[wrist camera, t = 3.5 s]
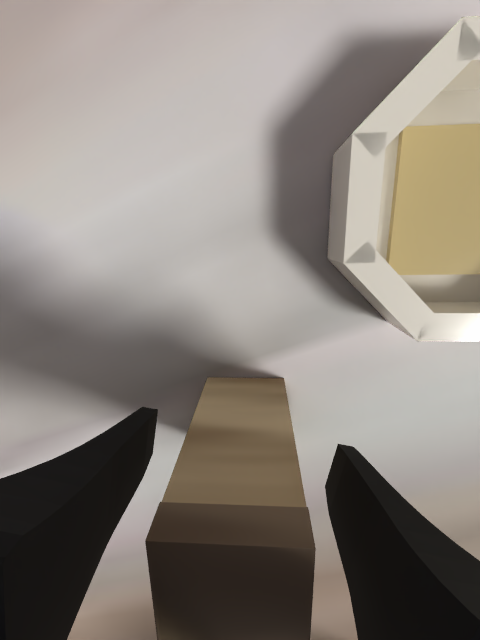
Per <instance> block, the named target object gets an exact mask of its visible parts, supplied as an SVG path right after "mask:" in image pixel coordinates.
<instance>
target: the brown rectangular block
mask: <svg viewBox="0 0 480 640" xmlns="http://www.w3.org/2000/svg"><path fill="white" fill-rule="evenodd" d="M145 542H146V550H147V558H148V566H149V575H150V583H151V591H152V599H153V607H154V616H155V624H156V632H157V640H310V632H311V615H312V599H313V582H314V565H315V543H314V538H313V532H312V527H311V521H310V516H309V510H308V507H306V502H305V496H304V490H303V485H302V479H301V473H300V468H299V462H298V456H297V451H296V445H295V439H294V433H293V428H292V422H291V416H290V411H289V405H288V399H287V394H286V388H285V382H284V378H216V377H208V378H207V380H206V383H205V386H204V388H203V391H202V394H201V397H200V399H199V402H198V405H197V407H196V410H195V413H194V416H193V418H192V421H191V424H190V427H189V429H188V432H187V435H186V437H185V440H184V443H183V446H182V448H181V451H180V454H179V456H178V459H177V462H176V465H175V467H174V470H173V473H172V475H171V478H170V481H169V484H168V486H167V489H166V492H165V494H164V497H163V500H162V502H160V503H159V506H158V509H157V511H156V514H155V517H154V519H153V522H152V525H151V527H150V530H149V533H148V535H147V538H146V541H145Z"/></svg>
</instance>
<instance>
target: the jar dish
mask: <svg viewBox="0 0 480 640" xmlns="http://www.w3.org/2000/svg"><path fill="white" fill-rule="evenodd" d="M327 259H328V260H329V261H330V262H331V263H332V264H333V265H334V266H335V267H336V268H337V269H338V270H339V271H340V272H341V273H342V274H343V275H344V276H345V278H346V279H347V280H348V281H349V282H350V283H351V284H352V285H353V286H354V287H355V288H356V289H357V290H358V291H359V292H360V293H361V294H362V295H363V296H364V297H365V298H366V300H367V301H368V302H369V303H370V304H371V305H372V306H373V307H374V308H375V309H376V310H377V311H378V312H379V313H380V314H381V315H382V316H383V317H384V318H385V319H386V320H387V321H388V322H389V323H390V324H392V325H393V326H395V327H396V328H398V329H399V330H401V331H402V332H404V333H405V334H407V335H409V336H410V337H412V338H413V339H415V340H416V341H440V342H480V16H470V17H462V18H461V19H460V20H459V21H458V22H457V23H456V24H455V25H454V26H453V27H452V28H451V29H450V31H449V32H448V33H447V34H446V35H445V36H444V37H443V38H442V39H441V40H440V41H439V42H438V43H437V44H436V45H435V46H434V47H433V49H432V50H431V51H430V52H429V53H428V54H427V55H426V56H425V57H424V58H423V59H422V60H421V61H420V62H419V63H418V64H417V65H416V66H415V68H414V69H413V70H412V71H411V72H410V73H409V74H408V75H407V76H406V77H405V78H404V79H403V80H402V81H401V82H400V83H399V84H398V85H397V87H396V88H395V89H394V90H393V91H392V92H391V93H390V94H389V95H388V96H387V97H386V98H385V99H384V100H383V101H382V102H381V103H380V105H379V106H378V107H377V108H376V109H375V110H374V111H373V112H372V113H371V114H370V115H369V116H368V117H367V118H366V119H365V120H364V121H363V122H362V124H361V125H360V126H359V127H358V128H357V129H356V130H355V131H354V132H353V133H352V134H351V135H350V136H349V138H348V139H347V140H346V141H345V142H344V143H343V144H342V145H341V147H340V148H339V149H338V150H337V151H336V152H335V153H334V154H333V164H332V182H331V200H330V219H329V237H328V255H327Z"/></svg>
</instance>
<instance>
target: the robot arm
mask: <svg viewBox="0 0 480 640" xmlns="http://www.w3.org/2000/svg"><path fill="white" fill-rule="evenodd" d="M157 412H158V410H157V409H152V408H146V407H142V408H140V409H139V410H137V411H136V412H134V413H133V414H131V415H130V416H128V417H127V418H125V419H124V420H122V421H121V422H119V423H118V424H116V425H114V426H113V427H111V428H110V429H108V430H107V431H105V432H104V433H102V434H100V435H98V436H97V437H95V438H93V439H91V440H90V441H88V442H86V443H85V444H83V445H81V446H79V447H77V448H75V449H73V450H71V451H69V452H67V453H65V454H63V455H61V456H58V457H56V458H54V459H52V460H49V461H47V462H44V463H42V464H39V465H37V466H34V467H32V468H29V469H27V470H24V471H22V472H19V473H16V474H13V475H10V476H7V477H4V478H1V479H0V640H67V638H68V635H69V633H70V630H71V628H72V626H73V623H74V621H75V618H76V616H77V613H78V611H79V609H80V606H81V604H82V601H83V599H84V597H85V594H86V592H87V590H88V587H89V585H90V582H91V580H92V578H93V575H94V573H95V571H96V569H97V566H98V564H99V562H100V559H101V557H102V555H103V553H104V550H105V548H106V546H107V544H108V542H109V540H110V538H111V536H112V534H113V532H114V530H115V528H116V526H117V525H118V523H119V521H120V519H121V517H122V515H123V514H124V512H125V510H126V508H127V506H128V504H129V503H130V501H131V499H132V497H133V495H134V493H135V492H136V490H137V488H138V486H139V484H140V482H141V480H142V478H143V476H144V474H145V471H146V469H147V466H148V464H149V461H150V459H151V456H152V454H153V446H154V438H155V429H156V421H157ZM325 489H326V497H327V504H328V511H329V516H330V520H331V524H332V527H333V531H334V535H335V539H336V542H337V546H338V550H339V553H340V557H341V561H342V564H343V568H344V572H345V575H346V579H347V583H348V588H349V592H350V596H351V602H352V607H353V613H354V618H355V624H356V630H357V636H358V640H480V561H479V560H478V559H476V558H475V557H474V556H472V555H471V554H470V553H468V552H467V551H465V550H464V549H463V548H461V547H460V546H459V545H457V544H456V543H455V542H454V541H452V540H451V539H450V538H449V537H447V536H446V535H445V534H444V533H442V532H441V531H440V530H439V529H438V528H436V527H435V526H434V525H433V524H432V523H430V522H429V521H428V520H427V519H426V518H425V517H424V516H422V515H421V514H420V513H419V512H418V511H417V510H416V509H415V508H414V507H413V506H412V505H411V504H409V503H408V502H407V501H406V500H405V499H404V498H403V497H402V496H401V495H400V494H399V493H398V492H397V491H396V490H395V489H394V488H393V487H392V486H391V485H390V484H389V483H388V482H387V481H386V480H385V479H384V478H383V477H382V476H381V475H380V474H379V473H378V471H377V470H376V469H375V468H374V467H373V466H372V465H371V464H370V463H369V462H368V461H367V460H366V459H365V458H364V457H363V456H362V455H361V454H360V453H359V452H358V451H357V450H356V449H355V448H354V447H351V446H346V445H341V444H338V446H337V449H336V452H335V456H334V459H333V462H332V465H331V469H330V472H329V475H328V479H327V482H326V485H325Z"/></svg>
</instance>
